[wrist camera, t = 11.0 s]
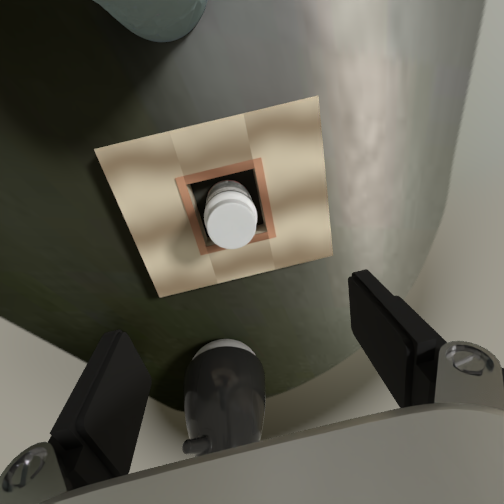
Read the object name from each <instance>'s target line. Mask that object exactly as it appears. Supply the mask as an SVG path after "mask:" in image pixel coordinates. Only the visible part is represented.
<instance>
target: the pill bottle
mask: <svg viewBox="0 0 504 504" xmlns="http://www.w3.org/2000/svg"><path fill="white" fill-rule="evenodd" d="M204 222H205V226H206V228H207V232H208V235H209V237H210V238H211V240H212V241H213V242H214V243H215V244H216V245H218V246H220V247H222V248H225V249H237V248H241V247H243V246H245V245H246V244H248V243H249V242H250V241H251V239H252V238H253V236H254V234H255V231H256V224H257V211H256V208H255V205H254V203H253V201H252V199H251V196H250V194H249V192H248V190H247V189H246V188H245V187H244V186H243V185H242V184H241V183H239V182H237V181H234V180H223V181H220V182H218V183H216V184H215V185H213V186H212V188H211V189H210V190H209V192H208V195H207V199H206V206H205V212H204Z"/></svg>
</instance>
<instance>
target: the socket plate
mask: <svg viewBox="0 0 504 504" xmlns="http://www.w3.org/2000/svg"><path fill="white" fill-rule="evenodd" d="M94 151H95V153H96V155H97V158H98V160H99V162H100V164H101V167H102V169H103V171H104V173H105V176H106V178H107V180H108V182H109V185H110V187H111V189H112V191H113V194H114V196H115V198H116V200H117V203H118V205H119V207H120V209H121V212H122V214H123V216H124V218H125V221H126V223H127V225H128V227H129V230H130V232H131V234H132V236H133V239H134V241H135V243H136V245H137V248H138V250H139V252H140V254H141V257H142V259H143V261H144V263H145V266H146V268H147V270H148V272H149V275H150V277H151V279H152V281H153V284H154V286H155V288H156V290H157V293H158V295H159V297H165V296H169V295H173V294H177V293H181V292H185V291H189V290H193V289H197V288H201V287H206V286H210V285H214V284H218V283H222V282H226V281H230V280H234V279H238V278H242V277H247V276H251V275H255V274H259V273H263V272H267V271H271V270H275V269H279V268H283V267H288V266H292V265H296V264H300V263H304V262H308V261H312V260H316V259H320V258H324V257H329V256H333V249H332V239H331V228H330V217H329V206H328V195H327V185H326V174H325V163H324V152H323V142H322V131H321V120H320V109H319V98H318V96H314V97H310V98H306V99H301V100H297V101H293V102H289V103H285V104H281V105H276V106H272V107H268V108H264V109H260V110H255V111H251V112H247V113H243V114H239V115H235V116H230V117H226V118H222V119H218V120H214V121H210V122H205V123H201V124H197V125H193V126H189V127H184V128H180V129H176V130H172V131H168V132H164V133H159V134H155V135H151V136H147V137H143V138H139V139H134V140H130V141H126V142H122V143H118V144H113V145H109V146H105V147H101V148H97V149H94ZM249 169H253V174H254V178H255V183H256V188H257V193H258V198H259V203H260V207H261V212H262V217H263V222H264V224H260V225H256V231H255V234H254V236H253V238H252V239H251V241H250V242H249V243H248V244H246V245H245V246H243V247H241V248H237V249H225V248H222V247H220V246H218V245H216V244H215V243H214V242H213V241H212V240H211V238H210V237H207V236H206V233H205V229H204V226H203V223H202V220H201V217H200V213H199V210H198V207H197V204H196V201H195V197H194V194H193V191H192V188H191V185H190V184H191V183H195V182H200V181H204V180H208V179H212V178H216V177H220V176H225V175H229V174H233V173H237V172H241V171H245V170H249Z"/></svg>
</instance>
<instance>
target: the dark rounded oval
mask: <svg viewBox="0 0 504 504" xmlns="http://www.w3.org/2000/svg"><path fill="white" fill-rule="evenodd" d="M183 391H184V410H185V417H186V423H187V429H188V433H189V438H190V439H189V440H186V441H185V442H184V443H183V446H182V450H183V452H184V453H185V454H194V455H195V457H198V456H202V455H206V454H210V453H214V452H218V451H222V450H226V449H230V448H234V447H238V446H242V445H246V444H250V443H255V442H259V441H260V437H261V433H262V427H263V421H264V412H265V375H264V369H263V366H262V363H261V361H260V360H259V359H258V358H257V357H256V355H255V354H254V352H253V351H252V350H251V349H250V348H249V347H248V346H247V345H245V344H244V343H242V342H240V341H237V340H233V339H219V340H215V341H212V342H210V343H208V344H206V345H205V346H203V347H202V348H201V349H200V350H199V351H198V352H197V353H196V355H195V356H194V357H193V359H192V361H191V362H190V363H189V365H188V366H187V368H186V371H185V375H184V386H183Z"/></svg>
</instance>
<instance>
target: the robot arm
mask: <svg viewBox="0 0 504 504" xmlns="http://www.w3.org/2000/svg"><path fill="white" fill-rule="evenodd" d="M348 285H349V300H350V315H351V328H352V331H353V334H354V336H355V337H356V339H357V340H358V342H359V344H360V345H361V347H362V348H363V350H364V351H365V353H366V355H367V356H368V358H369V359H370V361H371V362H372V364H373V366H374V367H375V369H376V370H377V372H378V374H379V375H380V377H381V378H382V380H383V381H384V383H385V384H386V386H387V388H388V389H389V391H390V393H391V394H392V396H393V397H394V399H395V400H396V402H397V403H398V405H399V406H400V408H399V409H394V410H390V411H385V412H381V413H376V414H372V415H367V416H363V417H358V418H354V419H350V420H345V421H341V422H338V423H333V424H329V425H325V426H320V427H316V428H312V429H308V430H304V431H300V432H296V433H291V434H288V435H283V436H279V437H275V438H271V439H267V440H263V441H259V442H255V443H250V444H246V445H242V446H238V447H234V448H230V449H226V450H222V451H218V452H214V453H210V454H206V455H202V456H198V457H194V458H190V459H186V460H182V461H178V462H174V463H170V464H166V465H163V466H158V467H154V468H150V469H147V470H143V471H139V472H135V473H131V474H128V473H129V470H130V466H131V462H132V458H133V454H134V450H135V446H136V443H137V438H138V435H139V431H140V427H141V423H142V419H143V415H144V411H145V407H146V403H147V399H148V396H149V392H150V388H151V376H150V374H149V372H148V371H147V369H146V367H145V365H144V363H143V361H142V360H141V358H140V356H139V354H138V352H137V351H136V349H135V347H134V345H133V343H132V341H131V340H130V338H129V336H128V334H127V333H126V332H122V331H121V330H115V331H111V332H107V333H104V334H103V336H102V338H101V340H100V341H99V343H98V345H97V347H96V349H95V351H94V352H93V354H92V356H91V358H90V360H89V362H88V364H87V365H86V368H85V369H84V371H83V373H82V375H81V377H80V378H79V380H78V382H77V384H76V386H75V388H74V389H73V391H72V393H71V395H70V397H69V399H68V401H67V403H66V404H65V406H64V408H63V410H62V412H61V414H60V415H59V417H58V419H57V421H56V423H55V425H54V427H53V428H52V430H51V432H50V434H51V435H52V436H51V437H50V439H49V441H48V443H47V442H41V443H37V444H35V445H33V446H30V447H29V448H27V449H26V450H24V451H23V452H21V453H20V454H19V455H18V456H17V457H15V458H14V459H13V460H12V462H11V463H10V464H9V465H8V466H7V467H6V469H5V470H4V471H3V473H2V474H1V476H0V504H504V368H502V367H501V365H500V362H499V360H498V359H497V358H496V357H495V355H493V354H492V353H491V352H490V351H488V350H487V349H485V348H483V347H481V346H479V345H477V344H473V343H470V342H464V341H452V342H449V343H447V342H446V341H445V340H444V339H443V338H442V337H441V336H440V335H439V334H438V333H437V332H436V331H435V330H434V329H433V328H432V327H430V326H429V325H428V324H427V323H426V322H425V321H424V320H423V319H422V318H421V317H420V316H419V315H418V314H417V313H416V312H415V311H414V310H413V309H412V308H411V307H410V306H409V305H408V304H407V303H406V302H405V301H404V300H403V299H402V298H400V297H399V296H393V295H392V294H391V293H390V292H389V291H388V290H387V289H386V288H385V287H384V286H383V285H382V284H381V283H380V282H379V281H378V280H377V279H376V278H375V277H374V276H373V275H372V274H371V273H370V272H369V271H368V270H362V271H358V272H353V273H352V277H349V278H348Z"/></svg>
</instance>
